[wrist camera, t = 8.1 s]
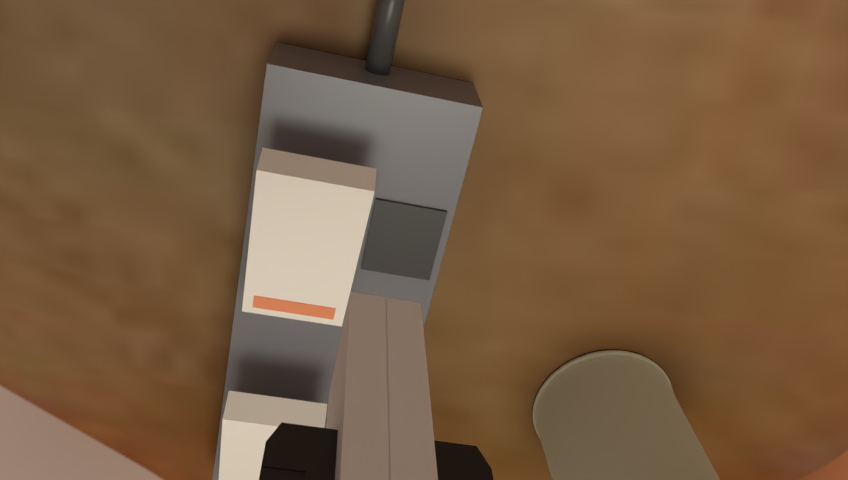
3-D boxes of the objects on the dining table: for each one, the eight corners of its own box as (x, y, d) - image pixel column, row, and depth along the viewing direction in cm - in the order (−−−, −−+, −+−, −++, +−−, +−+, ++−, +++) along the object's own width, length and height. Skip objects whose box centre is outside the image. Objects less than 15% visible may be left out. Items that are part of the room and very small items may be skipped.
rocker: (262, 147, 33) (256, 171, 31) (376, 168, 33) (374, 192, 32) (247, 287, 38) (241, 312, 37) (344, 303, 39) (341, 327, 38)
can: (515, 449, 51) (552, 610, 40) (556, 338, 47) (609, 485, 36) (642, 466, 52) (710, 626, 42) (693, 360, 48) (783, 508, 37)
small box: (228, 390, 38) (221, 420, 37) (327, 404, 39) (323, 433, 38) (223, 466, 45) (217, 493, 43) (307, 476, 45) (303, 503, 44)
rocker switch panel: (294, -88, 34) (281, -76, 30) (504, -38, 36) (523, -20, 31) (220, 460, 50) (204, 525, 45) (370, 479, 51) (369, 543, 46)
